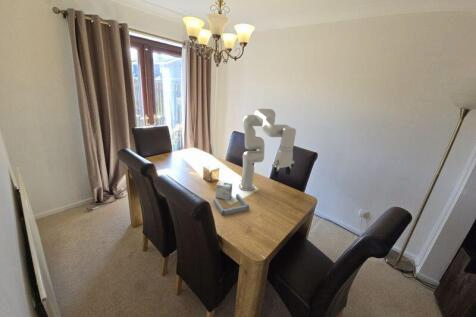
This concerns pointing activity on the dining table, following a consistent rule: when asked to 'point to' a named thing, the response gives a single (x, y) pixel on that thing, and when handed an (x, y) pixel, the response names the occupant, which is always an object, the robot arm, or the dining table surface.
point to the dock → (232, 210)
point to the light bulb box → (223, 190)
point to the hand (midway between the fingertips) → (281, 175)
